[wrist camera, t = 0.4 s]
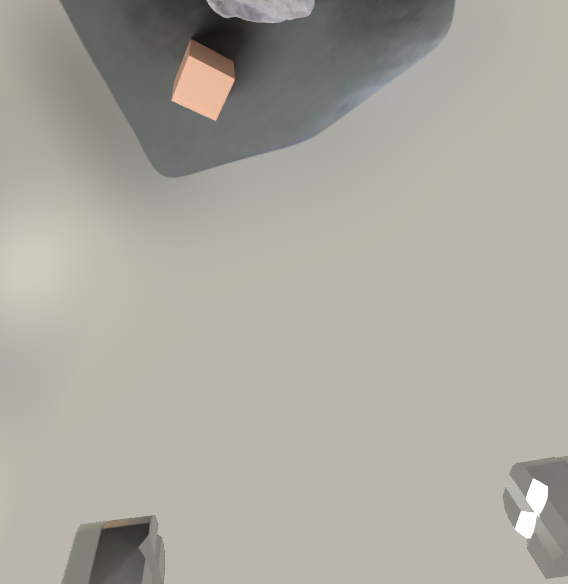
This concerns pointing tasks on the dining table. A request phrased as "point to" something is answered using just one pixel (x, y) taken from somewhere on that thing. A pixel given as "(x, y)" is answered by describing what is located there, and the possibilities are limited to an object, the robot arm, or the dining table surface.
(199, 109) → the terracotta cube
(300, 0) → the stone block
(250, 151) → the dining table surface
